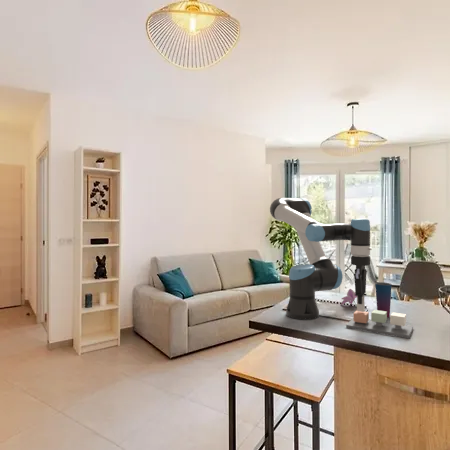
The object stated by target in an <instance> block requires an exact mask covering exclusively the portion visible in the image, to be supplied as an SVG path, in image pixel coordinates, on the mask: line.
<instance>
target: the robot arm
mask: <svg viewBox="0 0 450 450" xmlns="http://www.w3.org/2000/svg"><path fill="white" fill-rule="evenodd" d="M312 208H313V207H312V204H311V203H310V201H309V200H308V199H307V198H302V197H280V198H276V199H275V200H273V201H272V203H271V204H270V207H269V213H270V215H271V217H272V218H274V219H275V220H276V221H278V222H284V223H285V224H288V225H289V226H291V227H293V228H294V229H295V230H296V233H297V236H298V237H299V241H300V243H301V245H302V248H303V251H304V252H305V255H306V257H307V260H308V262H309V264H307V263H306V264H297V265H293V266H291V268H290V269H289V276H288V281H289V300H288V302H287V306H286V310H285V315H286V316H287V317H289V318H291V319H296V320H303V321H304V320H315V319H317V318H319V316H320V311H319V307H318V304H317V301H316V292H322V291H325V292H326V291H333V290H336V289H339V288H340V286H341V285H342V282H343V276H344V275H343V271H342V269H341V267H340V266H338V265H336V264H334V263H333V262H332V259H331V258H328V257H327V255H326V253H325V251H324V249H323V247H322V245H321V242H332V241H350V254H351V256H350V264H351V265H352V266H355V269H354V274H353V279H354V290H355V291H354V292H355V296H357V298H356V305H357V307H356V310H357V311H361V312H364V311H365V307H366V306H365V296H367V293H366V292H367V291H366V289H367V273H368V270H367V269H366V267H367V266H370V265H371V256H370V255H371V251H372V247H371V223H370V222H371V221H370V219H368V218H353V219H351V220H350V222H349V223H345V222H343V223H342V222H337V223H336V222H335V223H321V222H319V221H317V220H315V219H313V218H312V213H313V211H312ZM365 312H366V311H365Z"/></svg>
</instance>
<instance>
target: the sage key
mask: <svg viewBox="0 0 450 450" xmlns="http://www.w3.org/2000/svg"><path fill="white" fill-rule="evenodd" d="M370 317H371V318H370V319H371V321H374V322H380V323H385V322H388V321H387V320H388V318H387V311H379V310H377V309H373V310H372V311H371V315H370Z"/></svg>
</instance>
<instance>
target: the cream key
mask: <svg viewBox="0 0 450 450" xmlns="http://www.w3.org/2000/svg"><path fill="white" fill-rule="evenodd" d="M389 319H390V321H389V322H390V324H393V325H400V326H405V325H407V314H406V313H400V312H395V311H394V312H393V311H391V312H390V317H389Z"/></svg>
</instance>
